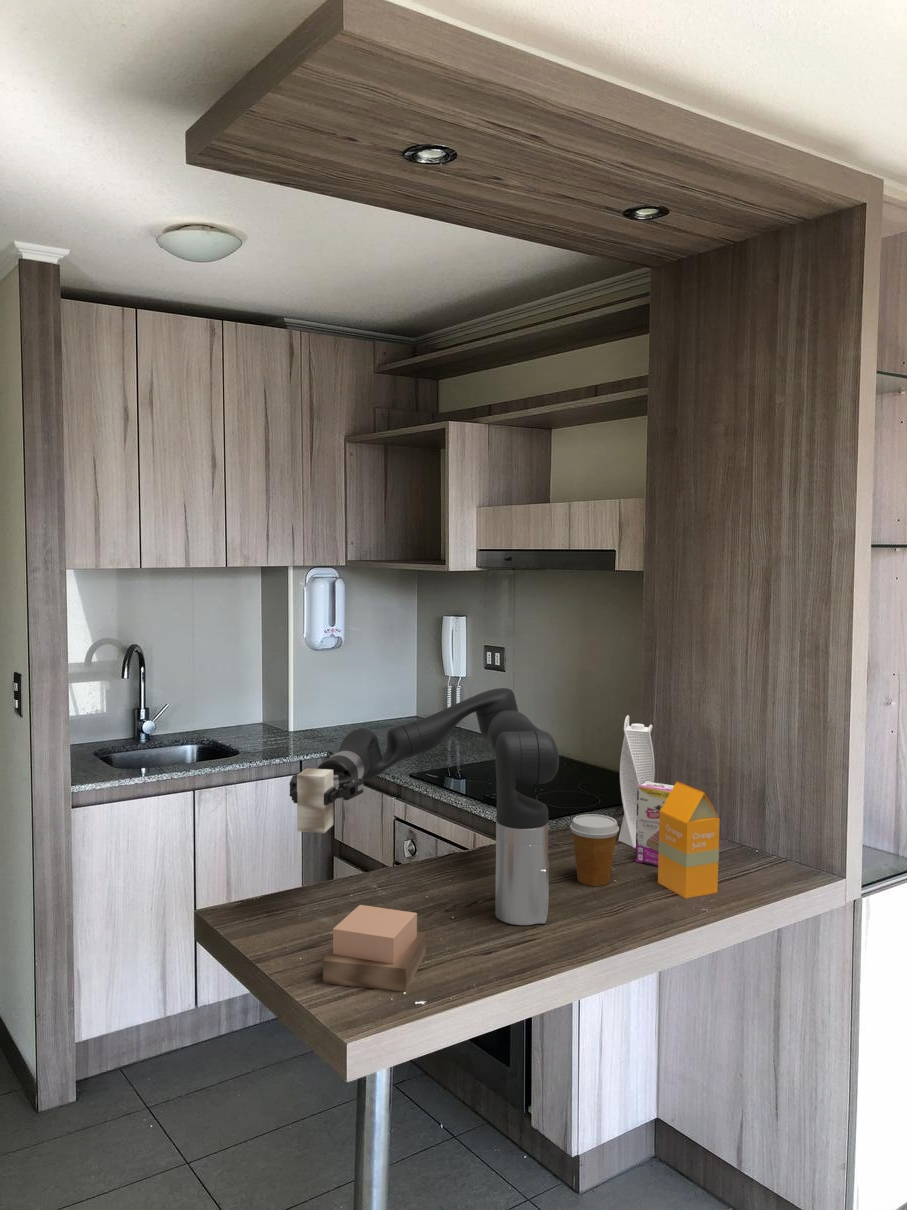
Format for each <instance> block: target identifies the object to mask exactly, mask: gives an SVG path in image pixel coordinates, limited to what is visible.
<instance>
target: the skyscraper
mask: <svg viewBox="0 0 907 1210" xmlns="http://www.w3.org/2000/svg"><path fill="white" fill-rule="evenodd" d="M652 730H653V725H652V724H649V726H648V727H647V726H645V724H643V723H632V724H630V715H629V714H628V715H626V716H625V719H624V724H623V732H624V735H623V740H622V747H621V752H620V753H621V754H620V761H619V785H620V786H619V787H620V794H621V795H620V796H621V803H622V807H623V808H622V809H623V813H624V814H623V818H622V822H621V826H620V832H619V835H618V840H617V841H618V842H622V843H623V844H626V845H628V846H629V847H632V848H633V849H636V823H637V789H638V785H639V784H642V783H643V782H645V781H650V782H655V771H656V767H655V755H654V747H653V741H652V736H651V733H652Z"/></svg>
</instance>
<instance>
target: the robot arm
mask: <svg viewBox="0 0 907 1210" xmlns="http://www.w3.org/2000/svg"><path fill="white" fill-rule="evenodd" d="M474 713H475V715H476V719H477V723H478V728H479V732H480V734H481V736H482V737H483V738H484V740H485V741H487V742H488V743H489V744H490V746H491V747H492V749H493V750H494V752H495V753H494V754H495V756H494V757H495V777H496V780H495V781H496V818H495V819H496V821H495V823H496V824H495V834H496V835H495V900H494V901H495V902H494V906H495V907H494V909H495V912H494V913H495V917H496V919H498V920H499V921H501V922H504V923H506V924H510V925H516V926H532V925H537V924H546V921H547V917H548V913H549V893H550V891H549V889H550V888H549V887H550V886H549V879H550V878H549V876H550V874H549V873H550V865H549V864H550V861H549V809H548V807H547V805H546V804H545V803H543V802H542V801H541V800H540V801H539V800H537V799H535V798H531V797H528V796H527V795H524V794H523V793H520V792H519V791H517V789H516V785H541V784H542V785H543V784H546V783H549V782H551V781H553V780H554V778H555V777H556V775H557V773H558V770H559V766H560V756H559V750H558V746H557V744H556V743H557V742H556V741H555V739H554V738H553V736H552V735H551V734H550V733H549V732H547V731H546V730H542V729H540V728H538V727H537V726H536V725H535V724H534V723H533V722H532V721H531V720H530V718H529V717H527V716H526V715H525V714H523V713H522V712H520V711H519V707H518V704H517V700H516V696H515V693H514V691H513V690H512V689H510V688H507V687H499V688H498V687H497V688H493V689H489V690H486V691H483V692H480V693H478V694H476V695H473V696H471V697H469V698H466V699H463V700H462V701H459V702H457V703H455V704H453V705H451V706H448V707H447V708H444V709H442V710H439V711H438V712H435V713H433V714H430V715H428V716H425V717H422V718H421V719H417V720H414V721H410V722H407V723H404V724H401V725H397V726H395V727H394V726H393V727H392V728H390V729H389V730H388V731H387V733H386V750H385V752H384V753H383V754H382V752H381V747H380V744H379V740H378V739H379V738H378V737H377V734H376V733H375V732H374V731H373V730H372V729H370V728H366V727H365V728H363V727H362V728H356V729H354V730H352V731H350V732H349V733H348V734H347V735H346V736H345V737H344V738H343V740H342V741H341V744H340V747H339V749H338V752H336V753H334V754H332V755H331V756H328V758H327V759H325V760H324V761H323V762H321V763H320V764H319V765H318V766H317V768H316V769H329V770H333V786H332V788H330V789H329V790H327V791H326V792H325V794H324V805H329V804H330V803H333V804H334V802H335V801H339V800H340V799H343V801H349V800H351V799H354V798H355V797H357V796H360V795H361V794H364V781H370V780H372V779H374V778H377V777H378V776H379V775H381V774H382V773H383V772H386V771H387V770H388V769H390V768H391V767H393V766H394V765H396V764H398V763H399V762H401V761H403V760H407V759H409V758H413V757H415V756H419V755H421V754H424V753H428V752H430V751H431V750H433V749H435V748H436V747H438V746H439V745H440V744H441V743H442V742H443V741H444V739H446V737H448V735H449V734H450V733H451V731H453V730H454V729H455V727H456V726H457V725H458V724H459V723H460V722H461V721H463V719H465V718H466V717H468V716H470V715H471V714H474ZM297 775H298V774H293V775H292V776H291V779H290V781H289V797H291V801H292V802H293V804H297Z"/></svg>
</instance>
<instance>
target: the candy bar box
mask: <svg viewBox="0 0 907 1210" xmlns="http://www.w3.org/2000/svg"><path fill="white" fill-rule="evenodd" d="M673 787H674V784H673V785H672V784H666V783H661V782H656V781H654V782H650V781H645V782H643V783H642V784H639V785H638V789H637V823H636V847H635V860H634V862H637V863H642V864H645V865H649V866H650V865H651V866H654V867H658V857H659V853H658V846H659V818H660V810H661V808H662V806H663V805H664V803H665V801H666V799H667V798H668V796H669V794H670V792H671V791H672V789H673Z"/></svg>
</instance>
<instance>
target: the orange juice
mask: <svg viewBox="0 0 907 1210" xmlns="http://www.w3.org/2000/svg"><path fill="white" fill-rule="evenodd" d="M673 786H674V787H673V789H672V791H671V792H670V794H669V796H668V798H667V799H666V801H665V803H664V805H663V806H662V808H661V810H660V818H659V846H658V853H659V857H658V866H657V868H658V869H657V883H658V884H660V885H661V886H663V887H665V888H667V889H668V890H670V891H672V892H673V893H675V894H677V895H678V896H680V897H682V898H684V899H690V898H696V897H700V896H701V897H702V896H707V895H712V894H716V893H718V888H719V887H718V885H719V880H718V879H719V878H718V877H719V863H720V862H719V859H720V848H719V847H720V823H721V817H720V815H718V813H717V810H716V809H715V808H714V805H713V804H712V802H711V801H710V798H709V797H708V796H707V794H706V792H705V791H703V790H700V789H698V788H697V787H694V786H690V785H688V784H686V783H683V782H681V781H679V780H676V782H675V784H673Z"/></svg>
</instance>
